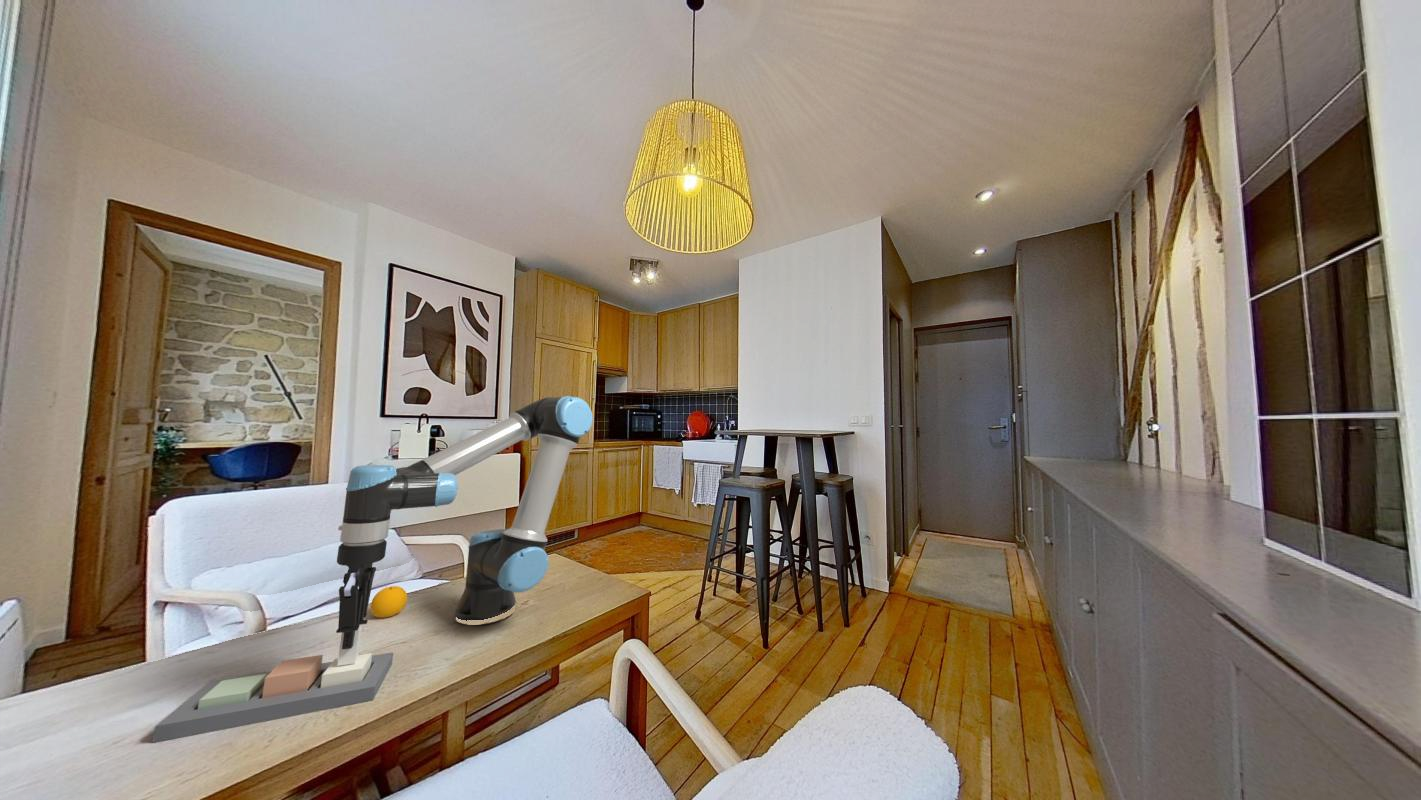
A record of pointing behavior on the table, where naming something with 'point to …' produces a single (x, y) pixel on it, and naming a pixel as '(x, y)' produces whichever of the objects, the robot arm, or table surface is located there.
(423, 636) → the table surface
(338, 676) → the cream square block
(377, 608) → the yellow lemon
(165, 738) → the keypad board
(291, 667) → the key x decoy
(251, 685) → the key
